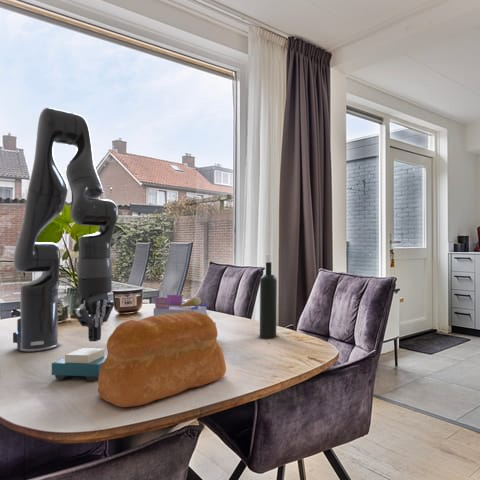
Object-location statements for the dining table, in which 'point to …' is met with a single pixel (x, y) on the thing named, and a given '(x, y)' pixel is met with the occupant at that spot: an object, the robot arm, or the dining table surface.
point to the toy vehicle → (178, 305)
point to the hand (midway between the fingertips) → (94, 340)
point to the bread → (160, 358)
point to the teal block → (80, 364)
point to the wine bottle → (268, 301)
